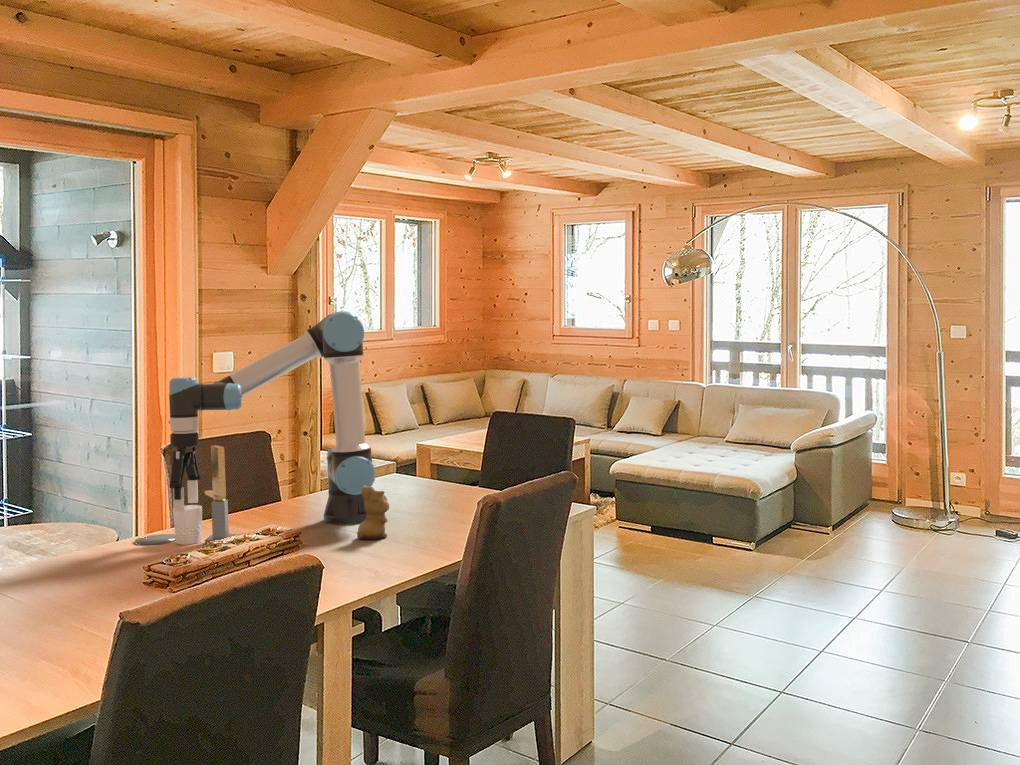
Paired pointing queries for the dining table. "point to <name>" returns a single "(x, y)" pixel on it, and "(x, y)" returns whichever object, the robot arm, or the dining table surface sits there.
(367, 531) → the figurine
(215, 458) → the tan l-shaped bracket
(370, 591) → the dining table surface
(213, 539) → the post
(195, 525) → the white cup
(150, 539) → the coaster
